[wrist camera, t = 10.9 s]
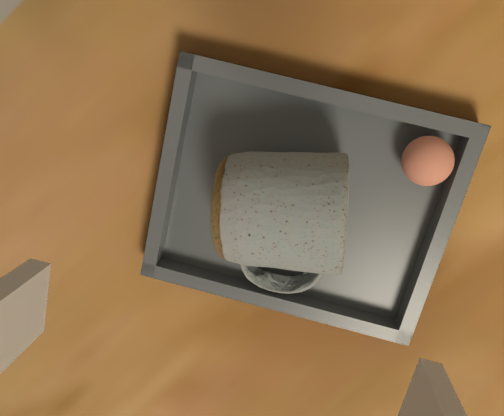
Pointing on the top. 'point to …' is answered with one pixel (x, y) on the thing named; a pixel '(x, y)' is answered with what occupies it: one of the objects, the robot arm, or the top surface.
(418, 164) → the ball
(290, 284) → the ceramic mug
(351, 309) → the tray
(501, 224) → the top surface
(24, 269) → the robot arm
